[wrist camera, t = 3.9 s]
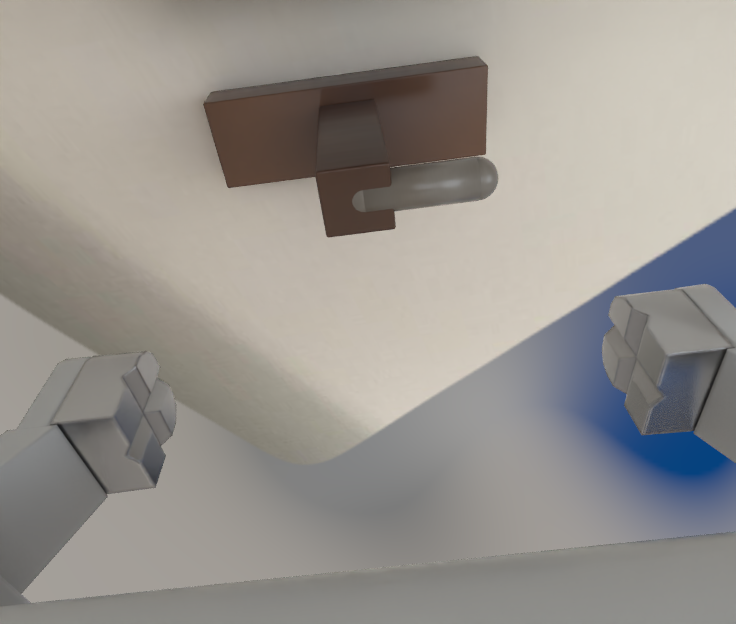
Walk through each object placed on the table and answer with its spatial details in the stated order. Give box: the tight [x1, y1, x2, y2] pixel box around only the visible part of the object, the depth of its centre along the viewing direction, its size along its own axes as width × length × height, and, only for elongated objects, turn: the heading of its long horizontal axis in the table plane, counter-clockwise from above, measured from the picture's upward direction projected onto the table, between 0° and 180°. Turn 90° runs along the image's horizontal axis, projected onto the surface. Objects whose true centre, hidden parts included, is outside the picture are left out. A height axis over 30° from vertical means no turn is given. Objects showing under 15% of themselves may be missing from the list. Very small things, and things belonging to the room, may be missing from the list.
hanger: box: [203, 56, 498, 237], centre depth 17 cm, size 10×3×8 cm, turn 97°
